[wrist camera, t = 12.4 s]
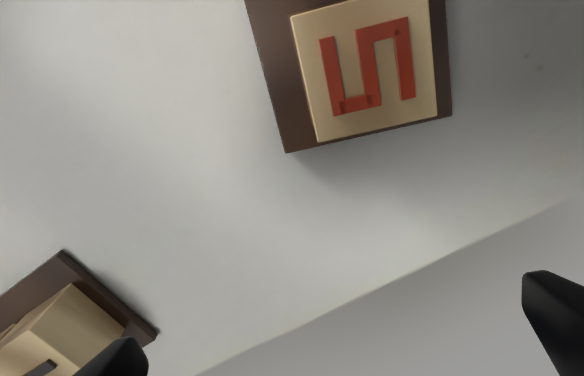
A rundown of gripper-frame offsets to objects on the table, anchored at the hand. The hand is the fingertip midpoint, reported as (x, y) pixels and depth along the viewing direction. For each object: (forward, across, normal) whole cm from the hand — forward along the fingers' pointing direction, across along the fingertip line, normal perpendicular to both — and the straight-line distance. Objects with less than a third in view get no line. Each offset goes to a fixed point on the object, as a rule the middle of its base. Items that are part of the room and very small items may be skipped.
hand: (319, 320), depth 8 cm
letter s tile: (+10, -3, -4) cm, 11 cm away
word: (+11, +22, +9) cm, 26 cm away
